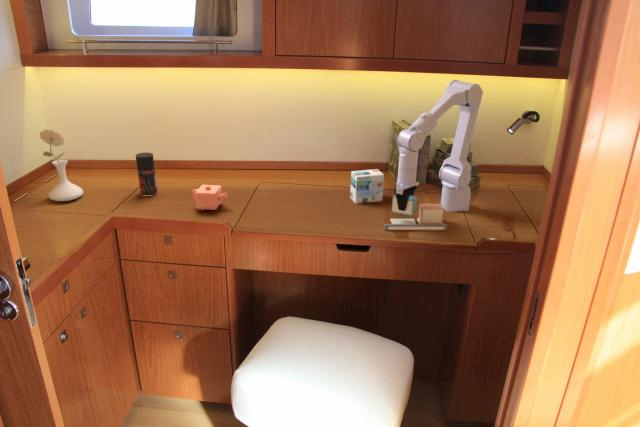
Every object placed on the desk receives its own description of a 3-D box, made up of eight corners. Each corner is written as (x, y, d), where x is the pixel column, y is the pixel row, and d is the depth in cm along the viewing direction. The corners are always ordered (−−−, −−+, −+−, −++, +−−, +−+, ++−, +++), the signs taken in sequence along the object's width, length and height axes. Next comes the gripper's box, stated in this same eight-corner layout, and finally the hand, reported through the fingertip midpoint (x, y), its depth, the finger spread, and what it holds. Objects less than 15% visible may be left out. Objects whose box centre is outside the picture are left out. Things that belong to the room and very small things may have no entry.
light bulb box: (355, 205, 184) (356, 176, 180) (349, 198, 190) (350, 170, 186) (383, 202, 187) (385, 174, 182) (376, 196, 193) (378, 168, 188)
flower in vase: (91, 195, 189) (79, 128, 179) (65, 206, 179) (51, 136, 169) (65, 189, 194) (52, 124, 184) (38, 200, 184) (23, 131, 174)
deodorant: (158, 195, 190) (153, 156, 184) (141, 197, 188) (136, 158, 182) (156, 190, 195) (152, 151, 189) (140, 192, 193) (135, 153, 187)
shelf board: (434, 210, 180) (435, 204, 179) (447, 232, 165) (447, 225, 164) (377, 210, 180) (378, 204, 179) (384, 232, 164) (385, 225, 163)
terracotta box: (439, 219, 172) (441, 203, 170) (442, 224, 168) (444, 208, 166) (418, 219, 172) (419, 203, 170) (420, 224, 168) (422, 208, 166)
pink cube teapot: (225, 213, 176) (223, 190, 173) (191, 211, 177) (188, 189, 174) (230, 204, 183) (229, 182, 180) (197, 202, 184) (196, 181, 181)
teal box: (415, 212, 169) (417, 196, 167) (412, 216, 166) (413, 200, 163) (395, 208, 172) (396, 192, 170) (391, 212, 168) (392, 196, 166)
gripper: (413, 176, 155) (409, 218, 160) (426, 163, 167) (422, 202, 172) (390, 173, 158) (387, 213, 163) (405, 160, 170) (402, 198, 175)
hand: (404, 207), depth 168 cm, fingers closed on teal box, 4 cm apart
